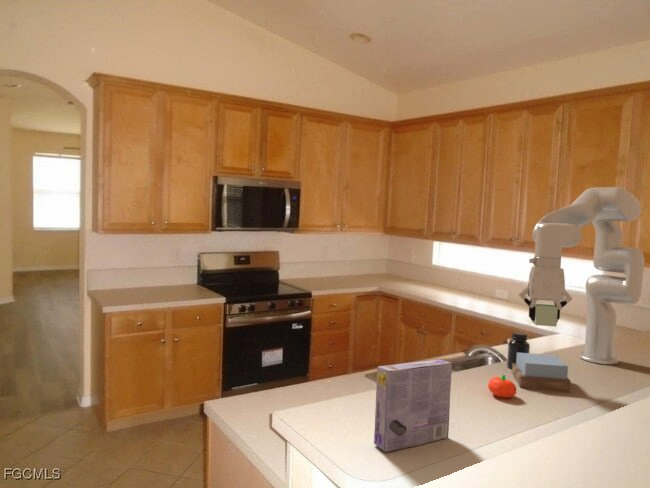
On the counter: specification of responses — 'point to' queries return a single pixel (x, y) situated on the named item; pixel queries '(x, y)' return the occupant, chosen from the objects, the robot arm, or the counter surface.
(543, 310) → the sage block
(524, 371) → the slate top block
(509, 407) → the counter surface
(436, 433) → the cake pan box
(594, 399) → the counter surface
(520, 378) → the walnut base block
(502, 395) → the pumpkin
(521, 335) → the supplement bottle
